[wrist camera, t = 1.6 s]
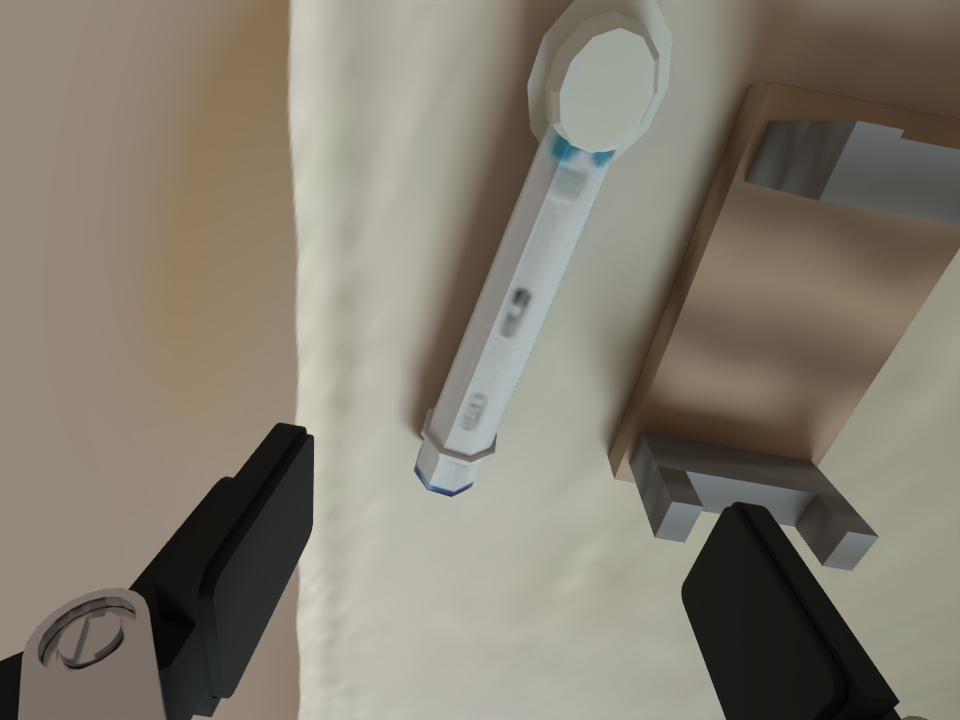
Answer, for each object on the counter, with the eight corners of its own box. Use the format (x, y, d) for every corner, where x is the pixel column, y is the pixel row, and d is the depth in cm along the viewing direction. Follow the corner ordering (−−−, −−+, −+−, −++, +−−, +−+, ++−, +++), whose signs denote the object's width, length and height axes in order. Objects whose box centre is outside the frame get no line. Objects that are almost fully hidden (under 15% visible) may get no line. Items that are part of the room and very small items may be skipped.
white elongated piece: (395, 485, 27) (575, -59, 13) (419, 410, 33) (564, -31, 19) (480, 510, 28) (742, 11, 14) (489, 432, 33) (683, 19, 19)
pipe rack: (748, 85, 20) (865, 68, 14) (988, 132, 21) (1215, 138, 14) (608, 457, 30) (636, 553, 23) (773, 486, 30) (847, 589, 24)
